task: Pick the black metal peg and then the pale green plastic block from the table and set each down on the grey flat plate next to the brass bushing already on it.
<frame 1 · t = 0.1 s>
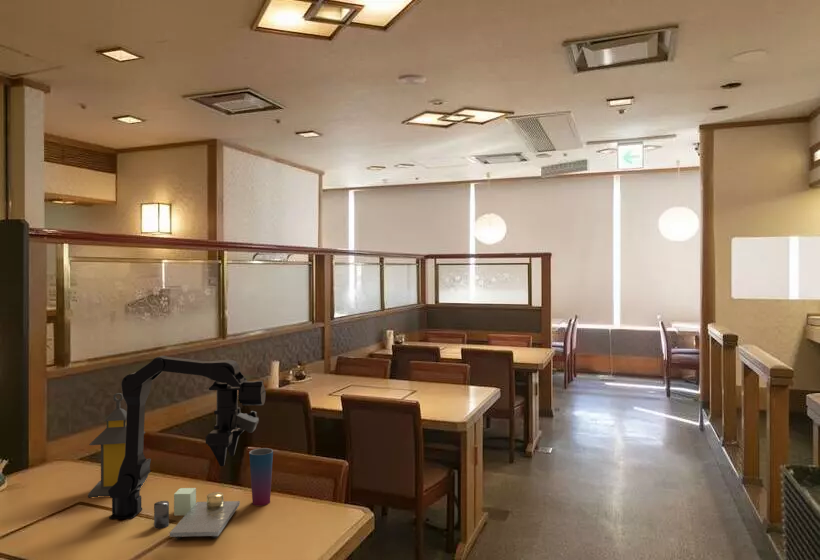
hand: (227, 460, 160), 15 cm above the table, fingers open, 9 cm apart
green block: (185, 512, 160), on the table
grey flat plate: (207, 524, 152), on the table
lantern: (118, 488, 180), on the table
black peg: (161, 525, 151), on the table
brass bushing: (215, 505, 159), point 2 cm above the table, touching grey flat plate
cup: (261, 503, 167), on the table
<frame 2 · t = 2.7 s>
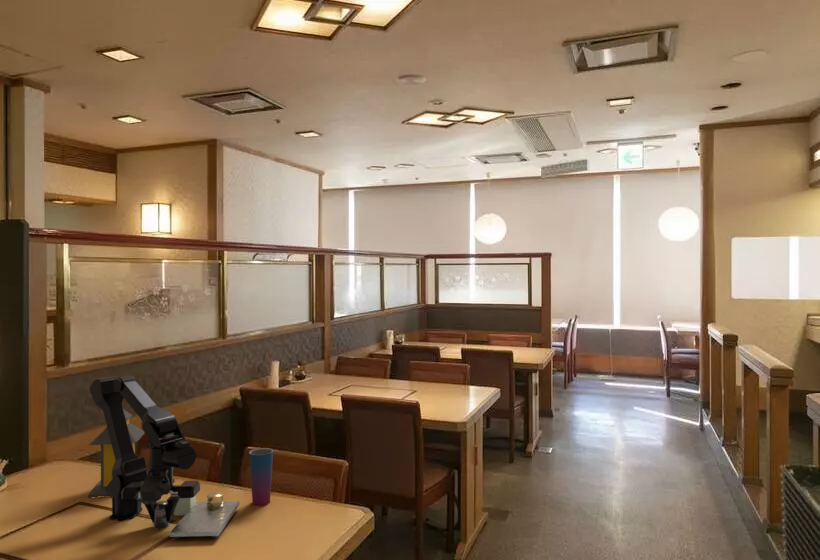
hand: (161, 521, 151), 1 cm above the table, fingers closed on black peg, 4 cm apart
black peg: (161, 525, 151), on the table, touching gripper
everything else where it was.
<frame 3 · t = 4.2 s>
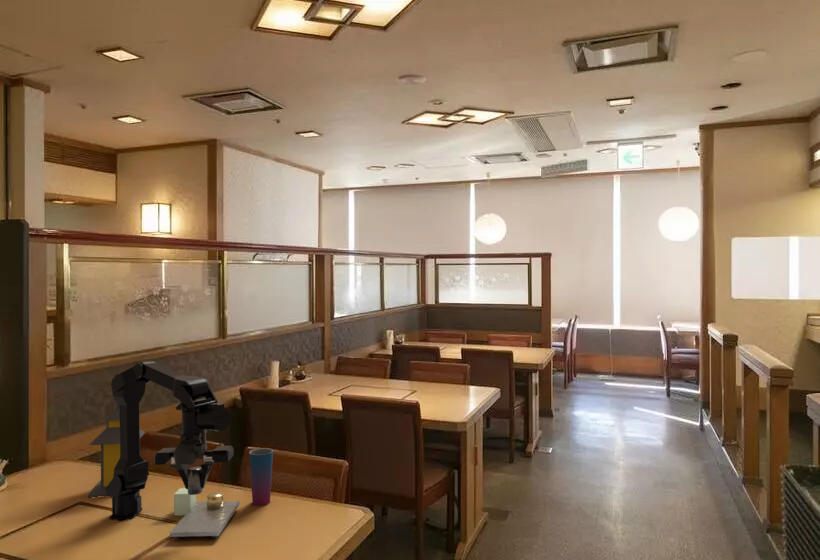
hand: (195, 488, 146), 12 cm above the table, fingers closed on black peg, 4 cm apart
black peg: (195, 492, 146), point 11 cm above the table, touching gripper
everything else where it was.
when the fingers open (5 cm above the table, at t = 5.7 s): black peg drops 1 cm, resting on grey flat plate.
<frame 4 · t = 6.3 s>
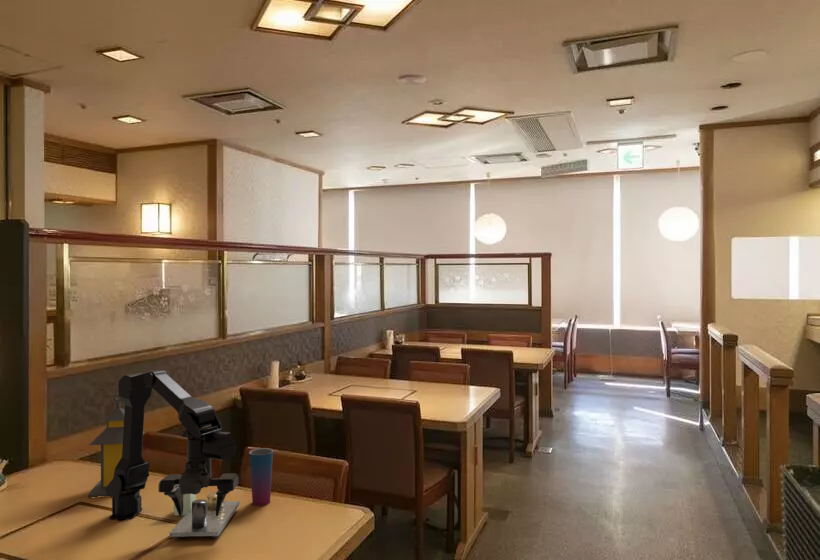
hand: (199, 516, 146), 5 cm above the table, fingers open, 9 cm apart
black peg: (199, 525, 146), point 2 cm above the table, touching grey flat plate
everything else where it was.
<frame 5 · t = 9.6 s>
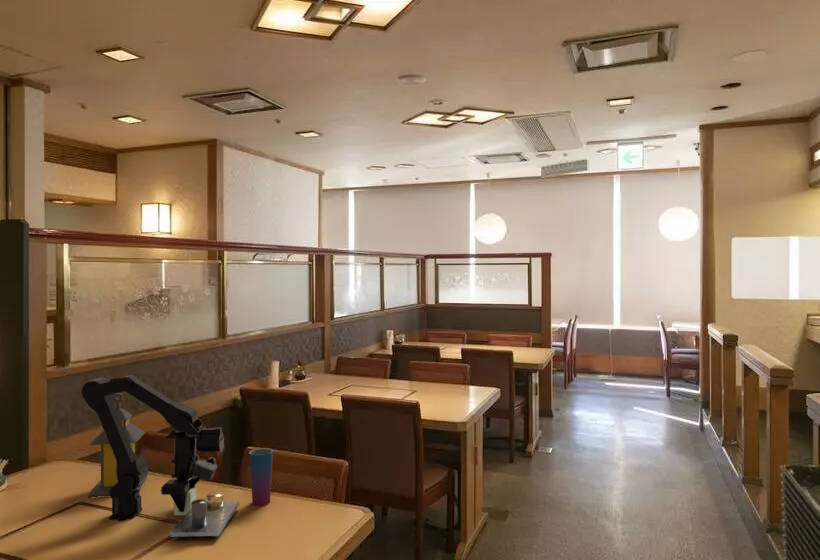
hand: (185, 508, 160), 1 cm above the table, fingers closed on green block, 4 cm apart
green block: (185, 512, 160), on the table, touching gripper
everything else where it was.
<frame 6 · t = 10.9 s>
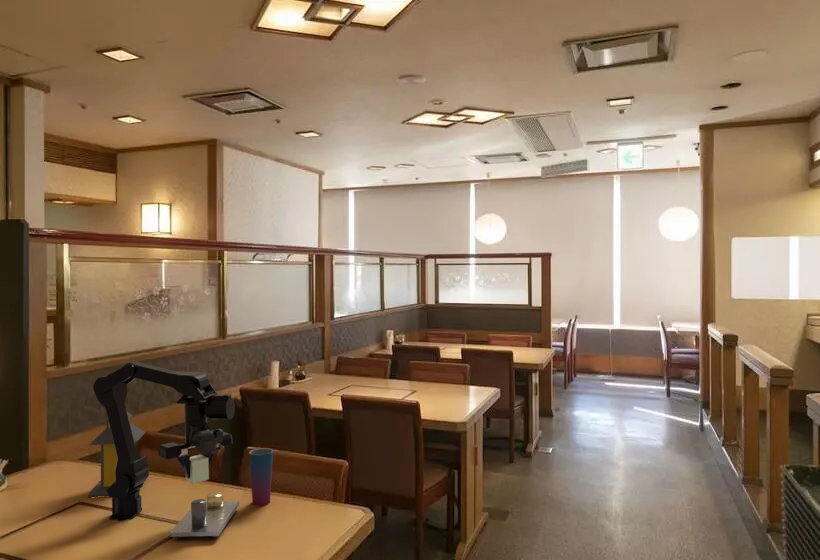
hand: (197, 475, 157), 11 cm above the table, fingers closed on green block, 4 cm apart
green block: (197, 479, 157), point 10 cm above the table, touching gripper
everything else where it was.
when the fingers open (5 cm above the table, at t = 12.7 s): green block drops 1 cm, resting on grey flat plate.
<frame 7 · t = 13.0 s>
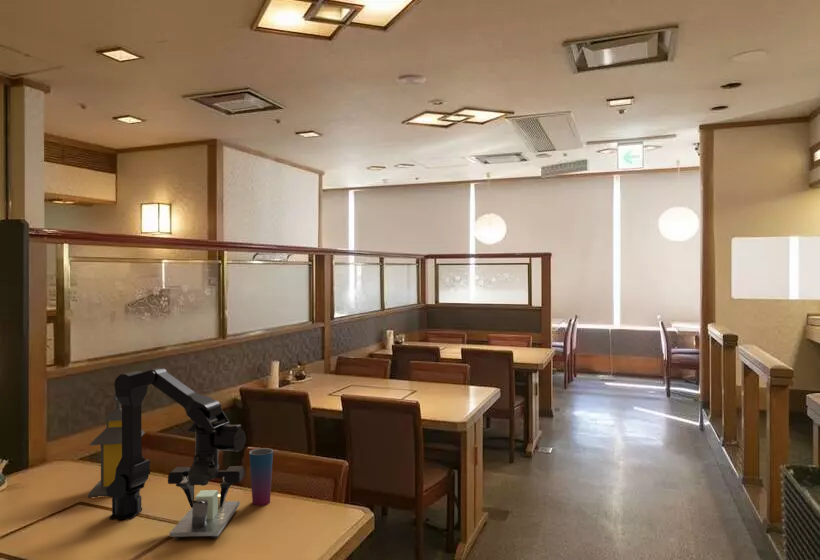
hand: (206, 506, 152), 5 cm above the table, fingers open, 7 cm apart
green block: (206, 515, 152), point 2 cm above the table, touching grey flat plate
everything else where it was.
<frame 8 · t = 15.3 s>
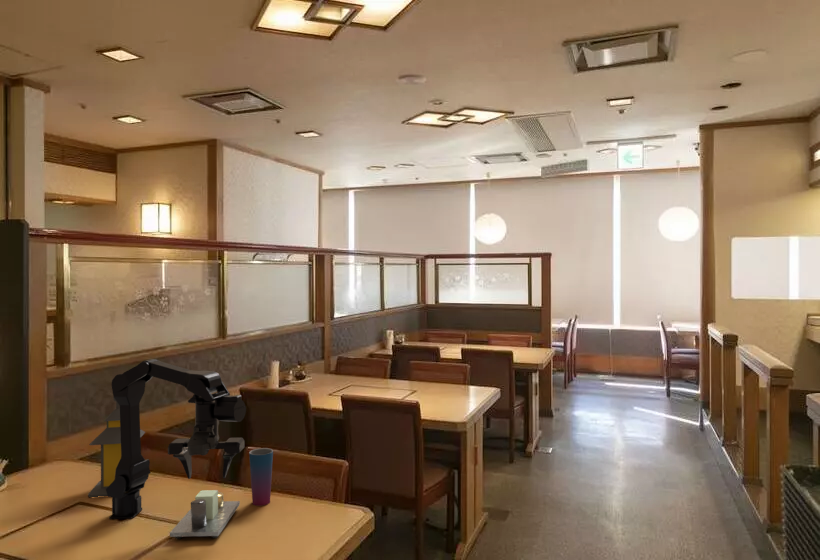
hand: (207, 478, 152), 12 cm above the table, fingers open, 9 cm apart
nothing on the table moved.
at the end: black peg inside the target area on the grey flat plate (0.0 cm from its centre), point 2.5 cm above the grey flat plate's base; green block inside the target area on the grey flat plate (0.0 cm from its centre), point 2.4 cm above the grey flat plate's base; black peg tilted 3° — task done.
